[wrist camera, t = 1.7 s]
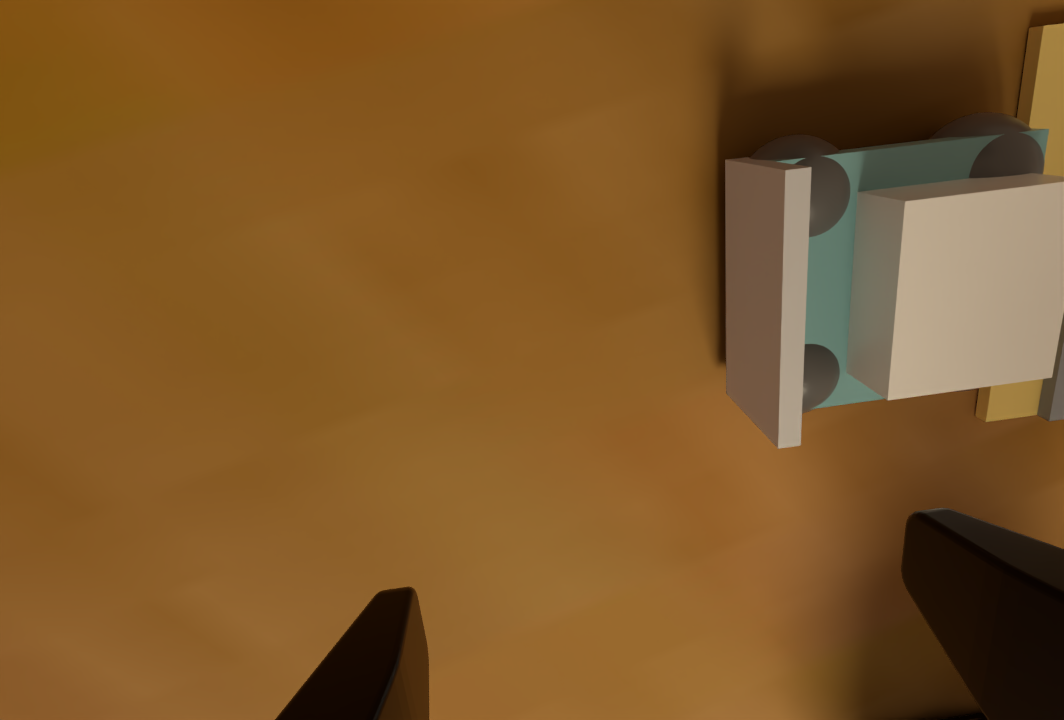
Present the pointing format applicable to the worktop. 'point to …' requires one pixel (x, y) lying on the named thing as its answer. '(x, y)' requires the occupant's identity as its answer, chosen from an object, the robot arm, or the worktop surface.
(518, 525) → the worktop surface
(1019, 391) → the dock
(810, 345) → the trolley
